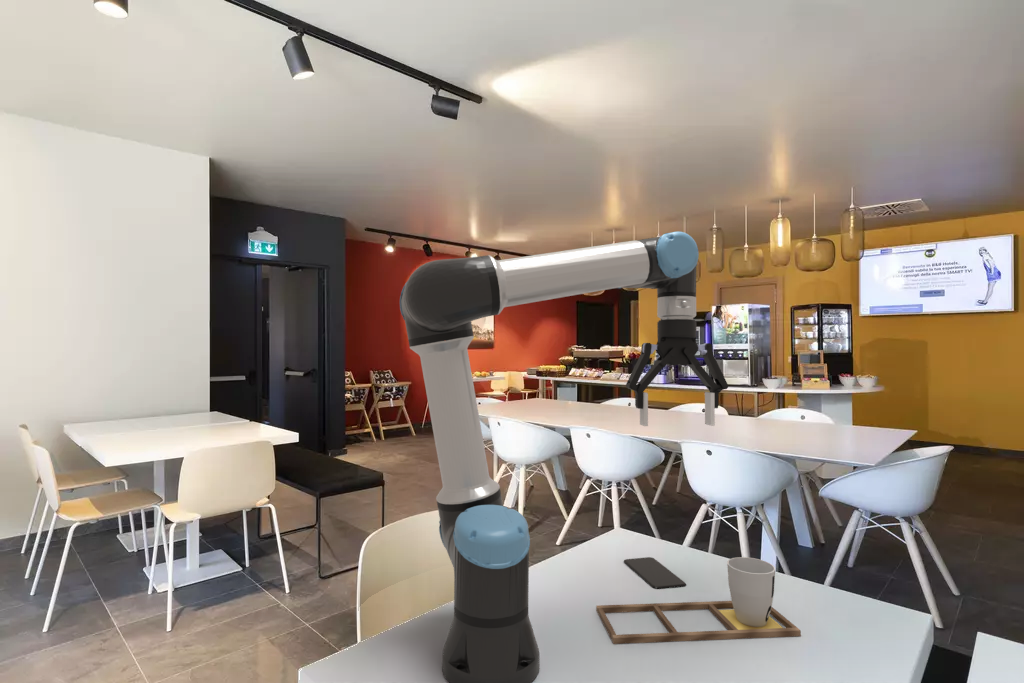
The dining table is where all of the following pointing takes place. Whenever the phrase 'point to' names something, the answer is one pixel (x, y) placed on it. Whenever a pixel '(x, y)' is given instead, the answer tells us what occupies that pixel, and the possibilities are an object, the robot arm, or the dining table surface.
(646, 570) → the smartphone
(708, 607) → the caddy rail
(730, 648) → the dining table surface
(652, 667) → the dining table surface
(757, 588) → the cup
